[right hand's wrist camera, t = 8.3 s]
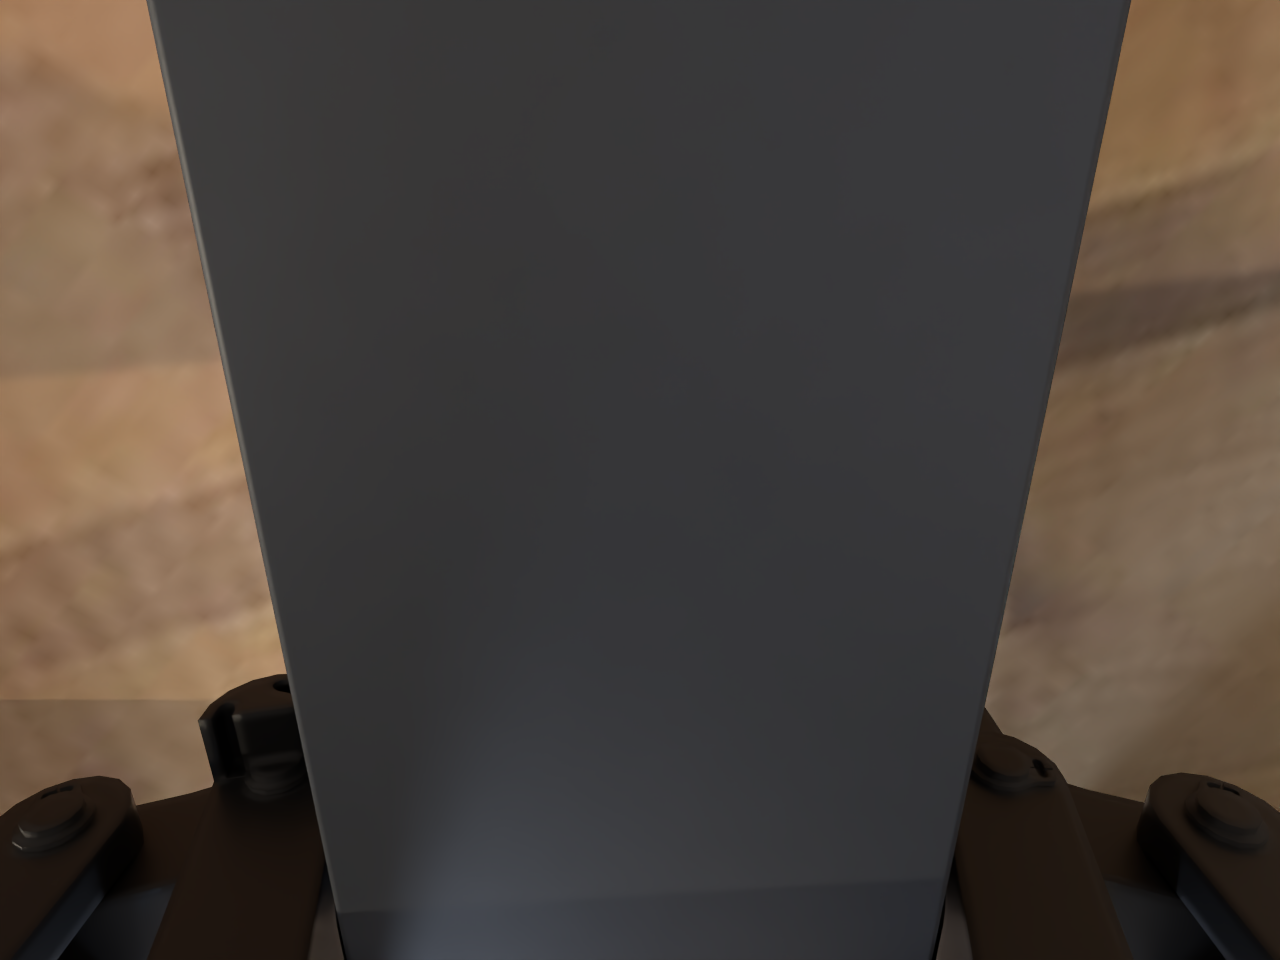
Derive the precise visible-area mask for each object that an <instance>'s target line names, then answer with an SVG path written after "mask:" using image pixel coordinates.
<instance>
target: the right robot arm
mask: <svg viewBox="0 0 1280 960" xmlns="http://www.w3.org/2000/svg"><path fill="white" fill-rule="evenodd" d="M198 723H199V726H200V730H201V734H202V738H203V741H204V745H205V749H206V752H207V756H208V760H209V764H210V767H211V771H212V775H213V778H214V784H213V786H212V787H210V788H207V789H203V790H200V791H197V792H193V793H190V794H185V795H181V796H177V797H172V798H168V799H164V800H159V801H155V802H151V803H146V804H142V805H138V806H136V805H135V802H134V798H133V795H132V792H131V789H130V788H129V787H128V786H127V785H125V784H124V783H123V782H122V781H121V780H120V779H115V778H109V777H103V776H94V777H87V778H79V779H73V780H70V781H67V782H64V783H61V784H58V785H55V786H52V787H49V788H46V789H44V790H42V791H40V792H38V793H36V794H34V795H32V796H31V797H29V798H27V799H25V800H23V801H21V802H19V803H17V804H16V805H15V806H13V807H12V808H11V809H9V810H8V811H7V812H6V813H4V814H3V815H2V816H1V817H0V960H347V959H346V954H345V949H344V945H343V940H342V935H341V930H340V925H339V921H338V916H337V911H336V906H335V901H334V897H333V892H332V887H331V882H330V878H329V873H328V868H327V863H326V858H325V854H324V849H323V844H322V839H321V834H320V830H319V825H318V820H317V815H316V810H315V806H314V801H313V796H312V791H311V786H310V782H309V777H308V772H307V767H306V762H305V758H304V753H303V748H302V743H301V739H300V734H299V729H298V724H297V719H296V715H295V710H294V705H293V700H292V695H291V691H290V686H289V681H288V676H287V674H277V675H273V676H269V677H265V678H260V679H256V680H252V681H250V682H248V683H246V684H243V685H241V686H239V687H237V688H234V689H232V690H230V691H228V692H227V693H225V694H224V695H223V696H221V697H220V698H219V699H217V700H216V701H214V702H213V703H212V704H210V705H209V707H208V708H207V709H206V711H205V712H204V713H203V714H202V716H201V717H200V718H199V720H198ZM932 960H1280V813H1279V812H1278V811H1277V810H1275V809H1274V808H1273V807H1272V806H1270V805H1269V804H1268V803H1267V802H1265V801H1264V800H1262V799H1260V798H1258V797H1256V796H1254V795H1252V794H1251V793H1249V792H1247V791H1245V790H1243V789H1241V788H1239V787H1237V786H1235V785H1232V784H1229V783H1227V782H1223V781H1220V780H1217V779H1214V778H1211V777H1208V776H1203V775H1195V774H1188V773H1176V774H1170V775H1164V776H1161V777H1159V778H1158V779H1157V780H1156V781H1155V782H1154V783H1153V784H1151V785H1150V787H1149V790H1148V793H1147V797H1146V800H1145V803H1143V802H1139V801H1134V800H1130V799H1125V798H1121V797H1117V796H1112V795H1108V794H1104V793H1099V792H1095V791H1090V790H1087V789H1083V788H1080V787H1077V786H1073V785H1070V784H1067V782H1066V780H1065V778H1064V777H1063V775H1062V774H1061V772H1060V771H1059V769H1058V768H1057V766H1056V765H1055V763H1053V762H1052V761H1051V760H1050V759H1049V758H1047V757H1046V756H1045V755H1044V754H1042V753H1041V752H1040V751H1039V750H1038V749H1036V748H1034V747H1032V746H1030V745H1028V744H1026V743H1024V742H1022V741H1020V740H1018V739H1016V738H1014V737H1011V736H1007V735H1003V734H1002V732H1001V731H1000V729H999V728H998V726H997V725H996V723H995V722H994V720H993V719H992V717H991V716H990V714H989V713H988V711H987V710H986V708H985V706H984V711H983V716H982V721H981V725H980V730H979V735H978V740H977V745H976V750H975V754H974V759H973V764H972V769H971V774H970V778H969V783H968V788H967V793H966V798H965V803H964V807H963V812H962V817H961V822H960V827H959V831H958V836H957V841H956V846H955V851H954V856H953V860H952V865H951V870H950V875H949V880H948V884H947V889H946V894H945V899H944V904H943V908H942V913H941V918H940V923H939V928H938V933H937V937H936V942H935V947H934V952H933V957H932Z"/></svg>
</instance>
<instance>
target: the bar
mask: <svg viewBox="0 0 1280 960" xmlns="http://www.w3.org/2000/svg"><path fill="white" fill-rule="evenodd" d="M1130 3H1131V0H147V5H148V10H149V15H150V20H151V24H152V29H153V34H154V39H155V43H156V48H157V53H158V58H159V63H160V67H161V72H162V77H163V82H164V87H165V91H166V96H167V101H168V106H169V111H170V115H171V120H172V125H173V130H174V135H175V139H176V144H177V149H178V154H179V159H180V163H181V168H182V173H183V178H184V183H185V187H186V192H187V197H188V202H189V206H190V211H191V216H192V221H193V226H194V230H195V235H196V240H197V245H198V250H199V254H200V259H201V264H202V269H203V274H204V278H205V283H206V288H207V293H208V298H209V302H210V307H211V312H212V317H213V322H214V326H215V331H216V336H217V341H218V345H219V350H220V355H221V360H222V365H223V369H224V374H225V379H226V384H227V389H228V393H229V398H230V403H231V408H232V413H233V417H234V422H235V427H236V432H237V437H238V441H239V446H240V451H241V456H242V461H243V465H244V470H245V475H246V480H247V484H248V489H249V494H250V499H251V504H252V508H253V513H254V518H255V523H256V528H257V532H258V537H259V542H260V547H261V552H262V556H263V561H264V566H265V571H266V576H267V580H268V585H269V590H270V595H271V600H272V604H273V609H274V614H275V619H276V623H277V628H278V633H279V638H280V643H281V647H282V652H283V657H284V662H285V667H286V671H287V676H288V681H289V686H290V691H291V695H292V700H293V705H294V710H295V715H296V719H297V724H298V729H299V734H300V739H301V743H302V748H303V753H304V758H305V762H306V767H307V772H308V777H309V782H310V786H311V791H312V796H313V801H314V806H315V810H316V815H317V820H318V825H319V830H320V834H321V839H322V844H323V849H324V854H325V858H326V863H327V868H328V873H329V878H330V882H331V887H332V892H333V897H334V901H335V906H336V911H337V916H338V921H339V925H340V930H341V935H342V940H343V945H344V949H345V954H346V959H347V960H932V957H933V952H934V947H935V942H936V937H937V933H938V928H939V923H940V918H941V913H942V908H943V904H944V899H945V894H946V889H947V884H948V880H949V875H950V870H951V865H952V860H953V856H954V851H955V846H956V841H957V836H958V831H959V827H960V822H961V817H962V812H963V807H964V803H965V798H966V793H967V788H968V783H969V778H970V774H971V769H972V764H973V759H974V754H975V750H976V745H977V740H978V735H979V730H980V725H981V721H982V716H983V711H984V706H985V701H986V697H987V692H988V687H989V682H990V677H991V672H992V668H993V663H994V658H995V653H996V648H997V644H998V639H999V634H1000V629H1001V624H1002V620H1003V615H1004V610H1005V605H1006V600H1007V595H1008V591H1009V586H1010V581H1011V576H1012V571H1013V567H1014V562H1015V557H1016V552H1017V547H1018V542H1019V538H1020V533H1021V528H1022V523H1023V518H1024V514H1025V509H1026V504H1027V499H1028V494H1029V489H1030V485H1031V480H1032V475H1033V470H1034V465H1035V461H1036V456H1037V451H1038V446H1039V441H1040V436H1041V432H1042V427H1043V422H1044V417H1045V412H1046V408H1047V403H1048V398H1049V393H1050V388H1051V384H1052V379H1053V374H1054V369H1055V364H1056V359H1057V355H1058V350H1059V345H1060V340H1061V335H1062V331H1063V326H1064V321H1065V316H1066V311H1067V306H1068V302H1069V297H1070V292H1071V287H1072V282H1073V278H1074V273H1075V268H1076V263H1077V258H1078V253H1079V249H1080V244H1081V239H1082V234H1083V229H1084V225H1085V220H1086V215H1087V210H1088V205H1089V200H1090V196H1091V191H1092V186H1093V181H1094V176H1095V172H1096V167H1097V162H1098V157H1099V152H1100V148H1101V143H1102V138H1103V133H1104V128H1105V123H1106V119H1107V114H1108V109H1109V104H1110V99H1111V95H1112V90H1113V85H1114V80H1115V75H1116V70H1117V66H1118V61H1119V56H1120V51H1121V46H1122V42H1123V37H1124V32H1125V27H1126V22H1127V17H1128V13H1129V8H1130Z"/></svg>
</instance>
